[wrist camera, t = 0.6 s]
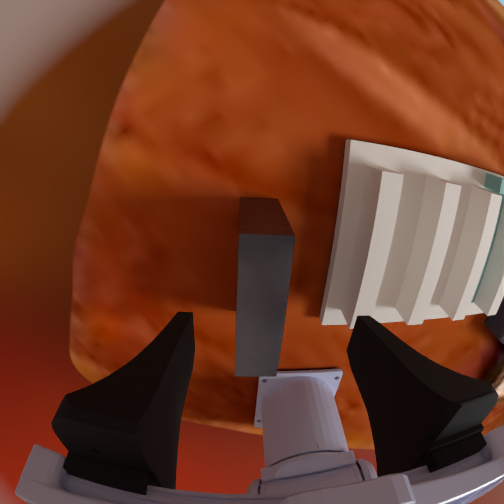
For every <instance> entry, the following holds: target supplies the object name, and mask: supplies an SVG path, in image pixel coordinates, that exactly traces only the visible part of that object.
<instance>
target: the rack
mask: <svg viewBox="0 0 504 504" xmlns="http://www.w3.org/2000/svg"><path fill="white" fill-rule="evenodd" d="M503 297H504V176H501V175H498V174H495V173H492V172H489V171H486V170H483V169H480V168H476V167H473V166H470V165H466V164H463V163H459V162H456V161H452V160H448V159H444V158H440V157H436V156H432V155H428V154H424V153H420V152H415V151H411V150H406V149H401V148H396V147H391V146H386V145H380V144H375V143H369V142H363V141H356V140H350V139H346V143H345V153H344V163H343V173H342V181H341V190H340V197H339V205H338V212H337V220H336V226H335V233H334V239H333V246H332V252H331V258H330V264H329V269H328V275H327V281H326V286H325V291H324V296H323V301H322V306H321V311H320V316H319V318H320V321H321V324H322V325H340V324H348V326H349V328H350V329H353V328H354V325H355V322H356V318H357V316H367V315H369V316H371V317H372V318H374V319H375V320H376V321H378V322H379V323H384V322H399V321H405V322H406V324H407V325H415V324H422V323H423V321H424V319H435V318H445V317H450V318H451V319H452V321H454V320H462V319H464V318H465V316H466V315H471V314H479V313H485V314H486V315H487V316H490V315H496V313H497V311H498V308H499V306H500V304H501V301H502V299H503Z"/></svg>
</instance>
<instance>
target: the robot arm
mask: <svg viewBox="0 0 504 504" xmlns="http://www.w3.org/2000/svg"><path fill="white" fill-rule="evenodd" d="M194 353H195V342H194V327H193V313H192V312H178V313H176V315H175V316H174V317H173V318H172V320H171V321H170V322H169V323H168V324H167V326H166V327H165V328H164V329H163V330H162V331H161V332H160V333H159V335H158V336H157V337H156V338H155V339H154V340H153V341H152V342H151V343H150V344H149V345H148V346H147V347H146V348H145V349H144V350H143V351H142V352H140V353H139V354H138V355H137V356H136V357H135V358H133V359H132V360H131V361H130V362H128V363H127V364H126V365H124V366H123V367H121V368H120V369H118V370H117V371H115V372H114V373H112V374H110V375H109V376H107V377H105V378H103V379H102V380H100V381H98V382H96V383H94V384H92V385H90V386H87V387H85V388H82V389H80V390H77V391H74V392H72V393H69V394H66V395H65V397H64V398H63V400H62V402H61V404H60V406H59V408H58V410H57V412H56V414H55V416H54V418H53V420H52V423H51V424H52V428H53V430H54V432H55V434H56V435H57V437H58V438H59V439H60V441H61V442H62V443H63V444H64V446H65V447H66V448H67V450H68V451H69V452H68V454H67V457H64V456H63V455H61V454H59V453H57V452H55V451H52V450H50V449H47V448H45V447H42V446H40V445H37V444H35V445H34V446H33V449H32V451H31V453H30V456H29V458H28V460H27V463H26V465H25V468H24V470H23V473H22V475H21V478H20V480H19V483H18V485H17V488H16V491H15V493H16V495H17V496H19V497H20V498H21V499H22V500H24V501H25V502H27V503H28V504H468V503H470V502H471V501H473V500H475V499H476V498H478V497H480V496H482V495H483V494H485V493H487V492H488V491H490V490H491V489H492V488H494V487H495V486H497V484H499V483H500V482H502V481H503V480H504V426H500V427H498V428H496V429H494V430H493V431H490V432H489V433H487V434H486V435H485V436H483V435H482V433H481V431H483V429H484V427H483V426H482V424H481V422H482V421H483V420H484V419H485V418H486V416H487V415H488V414H489V413H490V411H491V410H492V409H493V407H494V406H495V404H496V402H497V399H498V394H497V392H496V391H495V389H494V388H493V386H492V385H491V383H490V382H487V381H483V380H479V379H475V378H471V377H468V376H465V375H462V374H459V373H457V372H454V371H452V370H450V369H448V368H445V367H443V366H441V365H439V364H437V363H435V362H433V361H432V360H430V359H428V358H427V357H425V356H423V355H422V354H420V353H419V352H417V351H416V350H414V349H413V348H411V347H410V346H408V345H407V344H406V343H404V342H403V341H402V340H400V339H399V338H398V337H397V336H395V335H394V334H393V333H392V332H390V331H389V330H388V329H387V328H385V327H384V326H383V325H382V324H380V323H379V322H378V321H376V320H375V319H374V318H372V317H371V316H369V315H367V316H357V318H356V322H355V325H354V328H353V332H352V335H351V338H350V341H349V345H348V348H347V353H348V358H349V362H350V366H351V370H352V372H353V375H354V378H355V380H356V383H357V385H358V388H359V391H360V393H361V396H362V398H363V401H364V404H365V406H366V409H367V413H368V416H369V421H370V425H371V430H372V435H373V441H374V446H375V454H376V462H377V474H376V471H375V469H374V467H373V465H372V464H371V463H370V462H368V461H366V460H364V459H363V458H361V459H358V460H355V457H354V453H353V451H349V450H348V446H347V442H346V438H345V435H344V431H343V427H342V424H341V420H340V417H339V413H338V410H337V406H336V403H335V399H334V396H335V394H336V391H337V388H338V386H339V383H340V380H341V377H342V375H343V372H342V370H341V369H325V370H304V371H277V376H276V377H259V382H258V392H257V401H256V410H255V420H254V426H255V427H256V428H263V438H264V453H265V468H262V469H261V479H255V480H254V481H253V482H252V484H251V485H250V486H249V487H248V489H247V493H246V494H217V493H204V492H193V491H182V490H176V489H175V488H176V466H177V453H178V442H179V431H180V422H181V415H182V410H183V406H184V402H185V397H186V393H187V389H188V385H189V381H190V377H191V373H192V369H193V362H194ZM263 379H266V380H263ZM377 475H378V477H377Z"/></svg>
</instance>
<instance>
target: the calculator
mask: <svg viewBox="0 0 504 504" xmlns="http://www.w3.org/2000/svg"><path fill="white" fill-rule="evenodd" d="M484 324H485V325H486V326H487V327H488V329H489V330H490V331H491V332H492V333H493V334H494V335H495V336H496V337H497V339H498V340H499V341H500V342H502V343H503V344H504V297H503V299H502V301H501V304H500V306H499V308H498V311H497V313H496V315H490V316H488V318H487V319H486V320H485V322H484Z"/></svg>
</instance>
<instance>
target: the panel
mask: <svg viewBox="0 0 504 504" xmlns="http://www.w3.org/2000/svg"><path fill="white" fill-rule="evenodd" d="M294 243H295V234H294V232H293V230H292V228H291V226H290V224H289V221H288V219H287V217H286V215H285V213H284V211H283V209H282V207H281V205H280V202H279V200H278V199H266V198H243V197H240V214H239V240H238V269H237V301H236V343H235V376H245V377H276V376H277V370H278V363H279V357H280V350H281V343H282V337H283V330H284V323H285V315H286V308H287V300H288V293H289V285H290V277H291V269H292V260H293V252H294Z"/></svg>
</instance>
